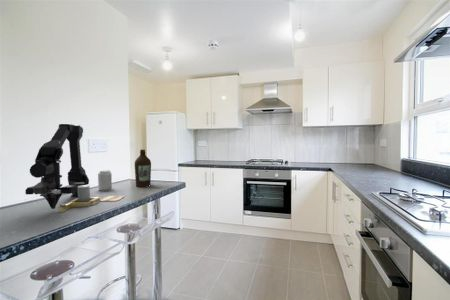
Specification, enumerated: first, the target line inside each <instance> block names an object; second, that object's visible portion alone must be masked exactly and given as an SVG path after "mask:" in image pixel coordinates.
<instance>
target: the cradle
mask: <svg viewBox="0 0 450 300" xmlns="http://www.w3.org/2000/svg"><path fill="white" fill-rule="evenodd" d="M100 200H101V197H100V196H90V201H89V202H91V206H94V205H96V204H99V202H100ZM70 202H78V197H77V198H74V199H72V200H70V201H69V203H70Z"/></svg>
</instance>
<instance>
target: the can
mask: <svg viewBox="0 0 450 300" xmlns="http://www.w3.org/2000/svg"><path fill="white" fill-rule="evenodd" d="M112 176H113V175H112V172H111V170H109V169H108V170H99V172H98V174H97V183H98V186H97V187H98V190H99V191H101V192H102V191H103V192H104V191H110V190H111V189H112V188H113V186H112V185H113V183H112V182H113V181H112V179H113V178H112Z"/></svg>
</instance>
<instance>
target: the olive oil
mask: <svg viewBox="0 0 450 300" xmlns="http://www.w3.org/2000/svg"><path fill="white" fill-rule="evenodd" d="M134 173H135V187H136V188H147V187H146V186H148V187H150V186H151V178H152V174H151V173H152V162H151V160H150V158H149V157H148V156H147V154H146V149H140V151H139V156H138V157H137V158H136V159H135V160H134ZM149 185H150V186H149Z"/></svg>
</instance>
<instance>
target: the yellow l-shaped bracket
mask: <svg viewBox="0 0 450 300" xmlns="http://www.w3.org/2000/svg"><path fill="white" fill-rule="evenodd" d="M91 206H92V205H91V202H70V201H69V202H68V203H62V204H59V207H58V212H59V213H63V212H64V213H65V212H66V211H68V210H70V209H71V208H76V207H77V208H79V207H82V208H84V207H91Z"/></svg>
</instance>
